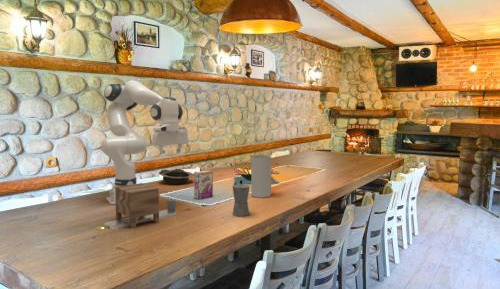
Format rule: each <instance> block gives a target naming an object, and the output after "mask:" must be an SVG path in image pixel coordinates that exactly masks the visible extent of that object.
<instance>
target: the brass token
mask: <svg viewBox="0 0 500 289" xmlns="http://www.w3.org/2000/svg"><path fill="white" fill-rule="evenodd" d="M107 229H109V228H108V226H106V225H104V224H103V225H97V226H96V227H95V230H97V231H104V230H107Z"/></svg>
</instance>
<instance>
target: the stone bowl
mask: <svg viewBox="0 0 500 289" xmlns="http://www.w3.org/2000/svg"><path fill="white" fill-rule="evenodd" d="M158 174H159V175H161V176H162V177H163V178H162V179H163V181H164V183H165V185H183V184H186V182H187V183H188V180H189V178H192V177H194V173H192V172H191V171H186V170H184V169H181V168H175V169H161V170H160V171H159V172H158Z"/></svg>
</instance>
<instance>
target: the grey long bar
mask: <svg viewBox="0 0 500 289" xmlns="http://www.w3.org/2000/svg"><path fill="white" fill-rule="evenodd" d="M166 203H167V209H163V210H159V220H161V219H165V218H169V217H174V216H178V212H177V211H176V200H174V199H169V200H168V199H167V201H166ZM151 221H153V214H152V215H147V216H142V217H137V218H136V225H138V224H141V223H146V222H151ZM103 225H106V226H108V228H107V229H110V230H115V229H117V228H118V229H119V228H123V227H129V226H130V218H129V217H125V218H122V219H119V220H116V219H114V220H109V221H106V222H103Z"/></svg>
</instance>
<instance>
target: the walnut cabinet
mask: <svg viewBox="0 0 500 289" xmlns="http://www.w3.org/2000/svg"><path fill="white" fill-rule="evenodd" d="M159 198H160V195H159V188H157V187H155V186H153V185H152V186H151V185H148V184H145V183H142V182H141V183H140V182H139V183H136V184H132V185H125V186H118V187H115V201H116V204H115V220H119V219H123V218H122V215H123V216H126V218H130V225H129V228H131V229H134V228H136V227H137V224H136V218H137V217H142V216H147V215H152V214H153V220H152V221H153V223H155V224H156V223H160V219H159V211H160V208H159V207H160V203H159V202H160V200H159Z"/></svg>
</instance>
